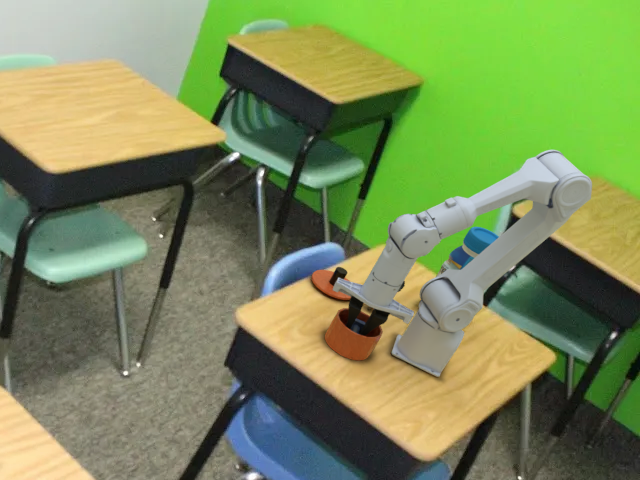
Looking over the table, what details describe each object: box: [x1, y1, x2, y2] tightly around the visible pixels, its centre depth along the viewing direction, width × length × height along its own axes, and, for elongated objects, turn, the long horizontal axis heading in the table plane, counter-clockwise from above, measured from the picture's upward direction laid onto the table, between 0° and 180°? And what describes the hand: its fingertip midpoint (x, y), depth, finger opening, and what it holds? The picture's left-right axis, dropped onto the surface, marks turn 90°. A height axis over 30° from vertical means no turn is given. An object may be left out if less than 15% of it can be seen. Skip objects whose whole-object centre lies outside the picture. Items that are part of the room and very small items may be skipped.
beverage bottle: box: [418, 226, 500, 309], centre depth 188 cm, size 8×8×20 cm
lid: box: [311, 266, 351, 301], centre depth 190 cm, size 10×10×4 cm
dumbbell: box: [345, 318, 365, 335], centre depth 174 cm, size 6×3×3 cm, turn 156°
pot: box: [324, 307, 384, 361], centre depth 174 cm, size 9×9×5 cm
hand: (352, 335), depth 174 cm, fingers closed on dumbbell, 2 cm apart
